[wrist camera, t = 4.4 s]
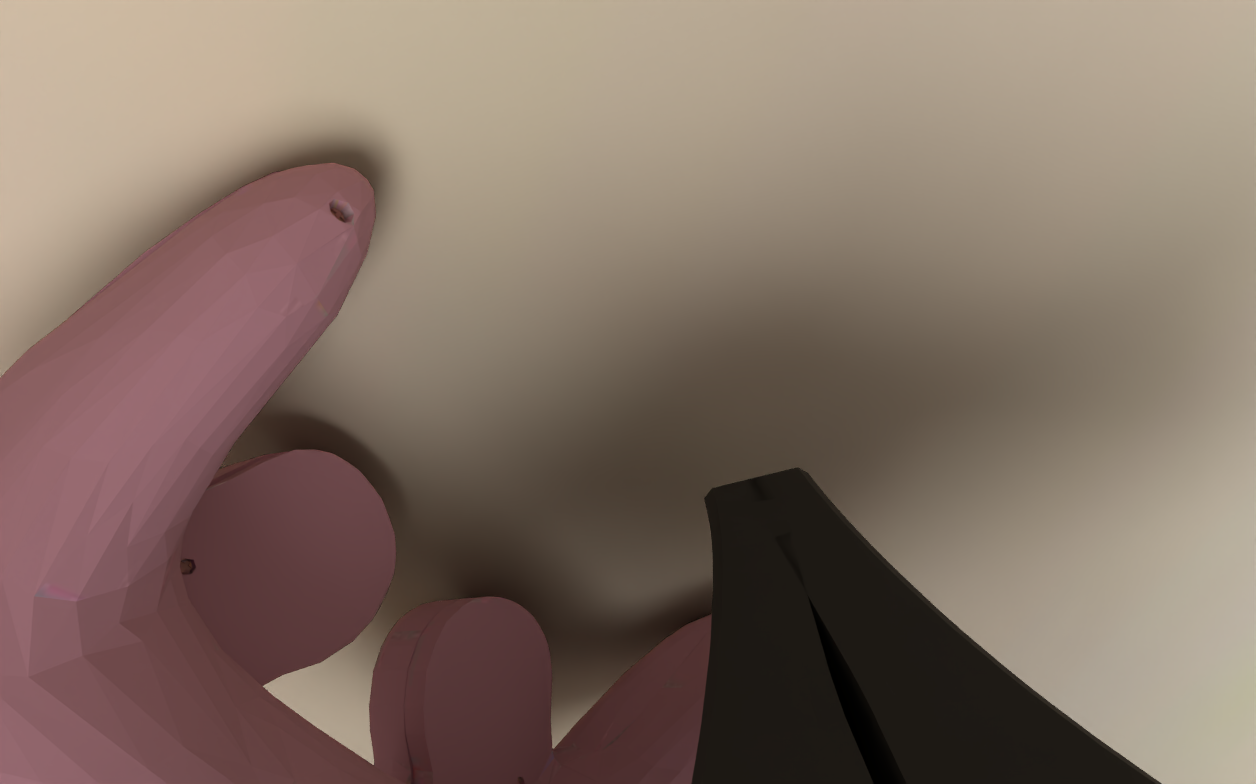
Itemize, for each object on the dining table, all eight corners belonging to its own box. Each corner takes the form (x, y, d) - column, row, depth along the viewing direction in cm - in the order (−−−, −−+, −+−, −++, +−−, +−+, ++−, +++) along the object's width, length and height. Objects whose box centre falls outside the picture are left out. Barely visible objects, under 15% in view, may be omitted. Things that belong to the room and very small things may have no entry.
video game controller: (115, 240, 10) (-580, 886, 5) (341, 75, 7) (-649, 1069, 3) (590, 644, 15) (429, 1145, 11) (822, 635, 12) (735, 1297, 8)
